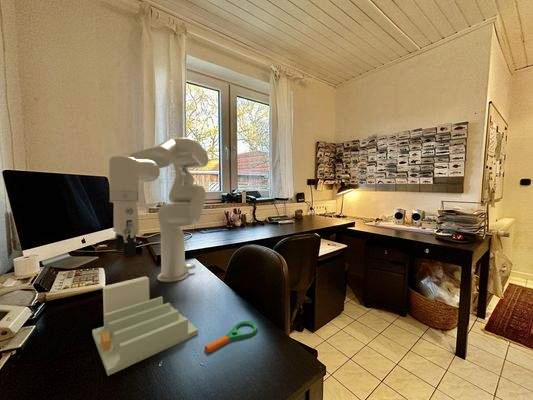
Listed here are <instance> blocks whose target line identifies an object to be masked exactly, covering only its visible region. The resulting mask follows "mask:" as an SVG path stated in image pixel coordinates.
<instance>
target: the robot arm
mask: <svg viewBox="0 0 533 400" xmlns="http://www.w3.org/2000/svg"><path fill="white" fill-rule="evenodd" d="M208 163H209V155H208V152H207V151H206V150H205V148H204V147H203V146H202V145H201V144H200V143H199V142H198V140H196V138H195V139H194V138H192V137H171V138H168V139H166V140H164V141H163V142H161V143H159V144H158V145H155V146H153V147H149V148H146V149H142V150H138V151H136V152H135V151H134V152H132V153H129V154H127V155H115V156H111V157H110V159H109V163H108V165H109V168H108V169H109V174H108V175H109V178H108V179H109V203H113V230H114V233H115V236H114V237H115V238H114V241H115V243H114V245H115V246H114V249H115V251H122V253H123V257H125V258H127V257H131V256H135V255H137V240H136V239H137V238H136V236H137V235H138V234H139V233H140V224H139V221H140V220H139V211H138V202H139V183H151V182H154V181H156V180H157V179H158V178H159V176H160V171H161V170H160V169H163V168H167V167H169V166H170V165H173V168H174V173H175V179H174V181H173V183H172V185H171V188H170V191H169V195H168V199H169V202H170V203H167V204H166V203H165V204H163V205H161V206H160V207H159V209H158V211H157V220H158V224H159V231H160V258H161V259H160V260H161V261H160V264H161V266H160V267H161V271H160V273H159V274H158V275H157V277H156V278H157V280H158V281H159V282H163V283H173V282H178V281H182V280H185V279H186V278H187V277H189V275H190V273H189V271H190V270H193V269H196V264H195V263H193V264H190V263H188V264H186V257H185V255H186V254H185V253H186V251H185V248H186V247H185V245H186V244H185V239H186V238H185V234H184V231H183V230H182V228H181V227H189V228H190V227H196V226H197V225H199V223H200V221H201V218H202V213H203V210H204V207H205V202H206V196H207V193H206V189H205V188H204V186H203V185H201V184H197V183H194V182H195V178H194V176H193V174H192V173H191V172H190V171H189V168H190V169H191V168H193V169H196V168H205V167H206V166H208Z"/></svg>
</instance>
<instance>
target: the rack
mask: <svg viewBox="0 0 533 400" xmlns="http://www.w3.org/2000/svg"><path fill="white" fill-rule="evenodd" d="M91 332H92V333H91V335H92V337H93V340H94V342H95V345H96V348H97V351H98V353H99V357H100V359H101V361H102V364H103V367H104V369H105V373H106V375H107V376H108V377H109V376H110V375H113V374H115V373H117V372H119V371H122V370H124V369H126V368H128V367H130V366H132V365H134V364H136V363H138V362H141V361H143V360H145V359H148V358H149V357H152V356H154V355H156V354H158V353H160V352H162V351H165V350H166V349H168V348H171V347H173V346H176V345H177V344H179V343H181V342H184V341H186V340H188V339H190V338H193V337H194V336H196V335H198V334H199V329H198V328H197V327H196V326H195V325H194V324H193V323H192V322H190V321H189V319H188V318H187V317H184V316H183V315H182V314H181V313H179V310H178V309H176V308H174V307H173V306H172V305H171V303H170V302H166V303H164V297H163V296H162V295H161V296H158V297H156V298H151V299H149V300H148V301H145V302H142V303H138V304H135V305H132V306H129V307H125V308H122V309H119V310H115V311H112V312H109V313H106V314H104V313H103V326H101V327H97V328H94V329H92V331H91Z"/></svg>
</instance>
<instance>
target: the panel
mask: <svg viewBox="0 0 533 400" xmlns="http://www.w3.org/2000/svg"><path fill="white" fill-rule="evenodd" d="M102 296H103V297H102V299H103V300H102V301H103V315H104V314H106V313H109V312H112V311H115V310H119V309H122V308H125V307H129V306H132V305H135V304H138V303H142V302H145V301H148V300H150V278H149V277H148V276H146V275H145V276H141V277H137V278H133V279H130V280H129V279H128V280H124V281H120V282H117V283H112V284H107V285H103V286H102Z"/></svg>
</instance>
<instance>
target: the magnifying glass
mask: <svg viewBox="0 0 533 400" xmlns="http://www.w3.org/2000/svg"><path fill="white" fill-rule="evenodd" d="M246 326H247V327H248V326H249V327H252V328H253V330H252V331H251V332H248V333H243V332H239V331H238V329H239V328H241V327H246ZM257 332H258V325H257V324H256V322H254V321H251V320H250V321H248V320H246V321H240V322H238V323H236V324H235V325H234V326H233V327H232V328H231V330H230V331H229V332H228V333H227V334H225V335H224V336H222V337H220V338H219V339H216V340H213V341H212V342H211V343H207V344H206V345H204V352H206V353H207V354H209V352H210V353H211V352H213V351H215V350H217V349H219V348H220V346H221V347H222V345H223V344H225V345H226V343H227V344H228V343H230V342H232V341H231V340H233V341H237V339H238V340H243V339H246V338H251V337H252V336H254V335H256V333H257ZM250 336H251V337H250ZM229 341H230V342H229ZM223 346H224V345H223ZM218 347H219V348H218Z"/></svg>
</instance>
